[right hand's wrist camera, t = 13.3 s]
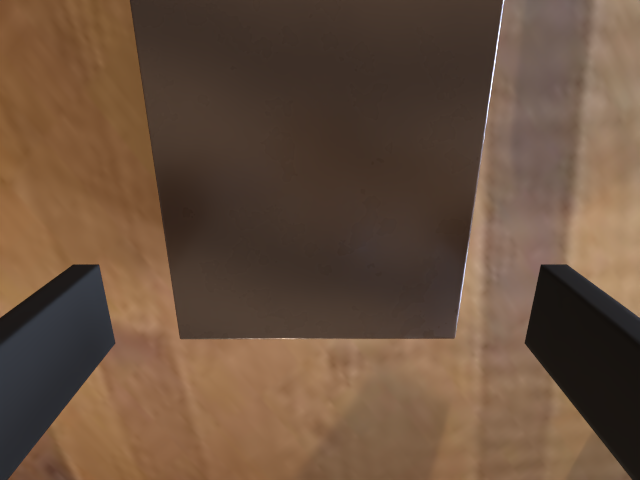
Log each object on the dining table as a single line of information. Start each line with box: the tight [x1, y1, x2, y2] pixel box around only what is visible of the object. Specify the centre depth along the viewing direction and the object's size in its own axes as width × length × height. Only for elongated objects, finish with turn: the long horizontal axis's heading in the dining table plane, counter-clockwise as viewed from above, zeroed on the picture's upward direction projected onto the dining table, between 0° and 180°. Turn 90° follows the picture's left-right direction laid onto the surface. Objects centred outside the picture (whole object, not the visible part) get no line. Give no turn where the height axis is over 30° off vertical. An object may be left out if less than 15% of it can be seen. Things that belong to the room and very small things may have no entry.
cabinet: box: [130, 0, 504, 339], centre depth 16 cm, size 21×11×9 cm, turn 0°
